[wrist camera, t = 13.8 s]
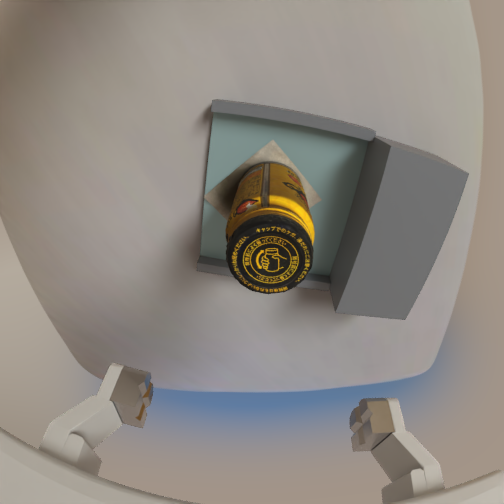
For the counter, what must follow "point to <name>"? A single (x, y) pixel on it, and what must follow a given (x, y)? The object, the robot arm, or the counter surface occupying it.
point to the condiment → (267, 221)
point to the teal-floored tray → (344, 203)
